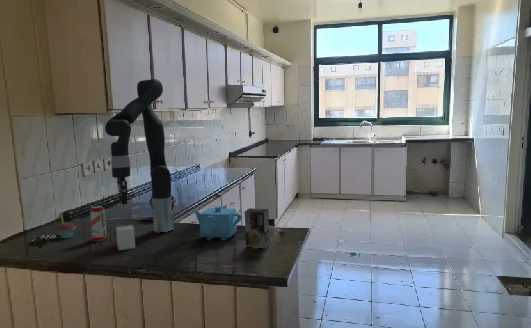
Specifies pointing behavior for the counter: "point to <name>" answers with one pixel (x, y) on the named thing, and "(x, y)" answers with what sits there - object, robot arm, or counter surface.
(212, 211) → the teakettle
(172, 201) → the flowerpot
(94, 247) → the counter surface
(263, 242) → the coffee box
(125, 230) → the grey rectangular block
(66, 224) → the cupcake
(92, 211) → the beer can
